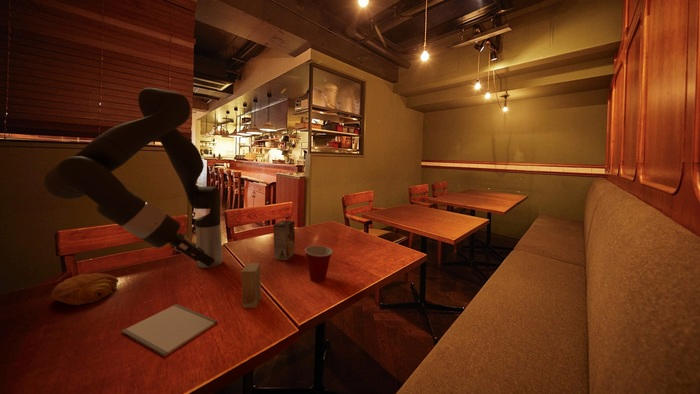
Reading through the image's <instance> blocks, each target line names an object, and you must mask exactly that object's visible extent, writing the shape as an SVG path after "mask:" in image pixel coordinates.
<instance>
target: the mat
mask: <svg viewBox="0 0 700 394" xmlns="http://www.w3.org/2000/svg"><path fill="white" fill-rule="evenodd" d="M217 323H218V321H217V320H216V319H214V318H211V317H209V316H207V315H204V314H201V313H199V312H196V311H194V310H192V309H190V308H188V307H185V306H182V305H181V304H178V303H176V304H173V305H172V306H170V307H168V308H166V309H164V310H162V311H160V312H157V313H155V314H154V315H152V316H150V317H147V318H146V319H144V320H141V321H139V322H137V323H135V324H133V325H131V326H128V327H127V328H124V329H122V330H121V334H123V333H124V334H126V335H128V336H129V337H128V336H127V337H128V338H130V337H131V338H130V339H132V338H133V339H134V340H133V339H132V340H133V341H135V340H136V342H137V343H139V344H140V343H141V345H142V344H143V345H142V346H144V345H145V347H146V346H147V347H146V348H148V347H149V348H151V349H153V350H154V351H153V350H152V351H153V352H155V353H156V352H157V354H158V353H159V354H158V355H160V356H162V357H163V356H164V357H166V356H168V355H169V354H171V353H172V352H174V351H175V350H177V349H178V348H180V347H182V346H184V345H185V344H186V343H188V342H190V341H191V340H193V339H195V338H197V336H199V335H200V334H202V333H204V332H205V331H207V330H209V328H212V327H213V326H214V325H216V324H217ZM124 334H123V335H124ZM126 335H125V336H126ZM149 348H148V349H149ZM151 349H150V350H151Z"/></svg>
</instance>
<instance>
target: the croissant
mask: <svg viewBox="0 0 700 394" xmlns="http://www.w3.org/2000/svg"><path fill="white" fill-rule="evenodd" d="M119 282H120V281H119V279H118V278H117V277H116V276H114V275H112V274H108V273H87V274H86V273H82V274H78V275H75V276H72V277H69V278H67V279H65V280H63V281H62V282H59V283H58V284H57V285H56V286H55V287H54V288H53V290H52V291H51V298H52V299H54V300H56V301H58V302H61V303H64V304H67V305H73V306H74V305H75V306H80V305H81V304H82V305H86V303H87V304H91V303H95V301H96V302H98V300H99V301H100V300H102V299H103V298H106V297H107V296H109V294H110V293H112V292H111V291H113V290H114V291H116V290H117V287H118V283H119ZM114 291H113V292H114ZM101 298H102V299H101Z"/></svg>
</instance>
